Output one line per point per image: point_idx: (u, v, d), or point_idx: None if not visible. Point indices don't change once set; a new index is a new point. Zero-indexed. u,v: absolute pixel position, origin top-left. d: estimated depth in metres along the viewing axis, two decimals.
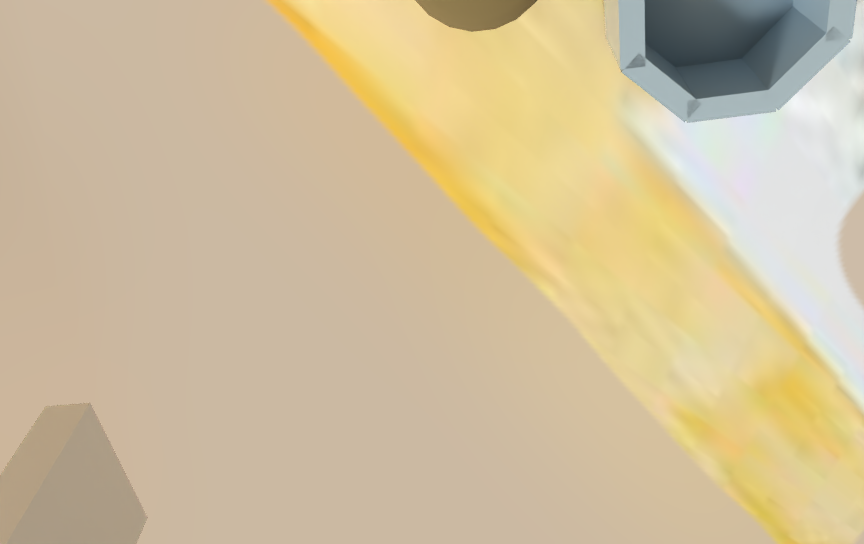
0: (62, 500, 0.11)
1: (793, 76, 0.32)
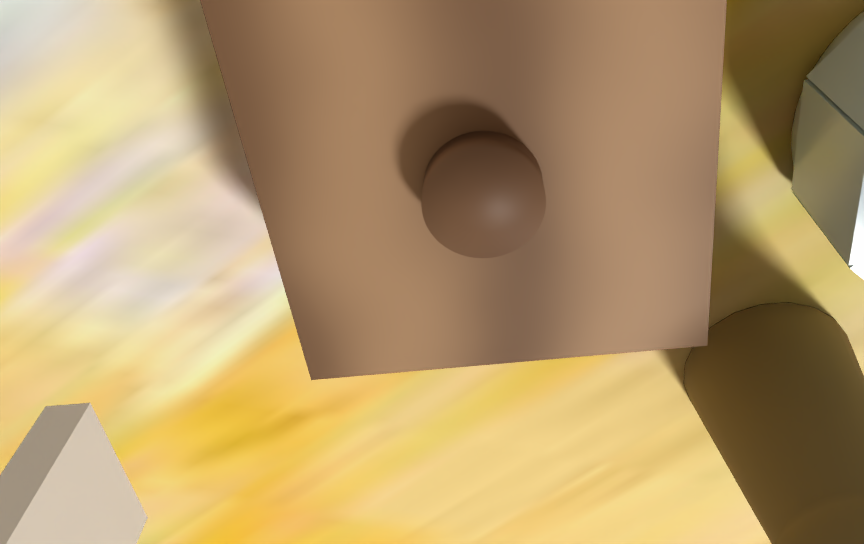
0: (62, 500, 0.11)
1: None
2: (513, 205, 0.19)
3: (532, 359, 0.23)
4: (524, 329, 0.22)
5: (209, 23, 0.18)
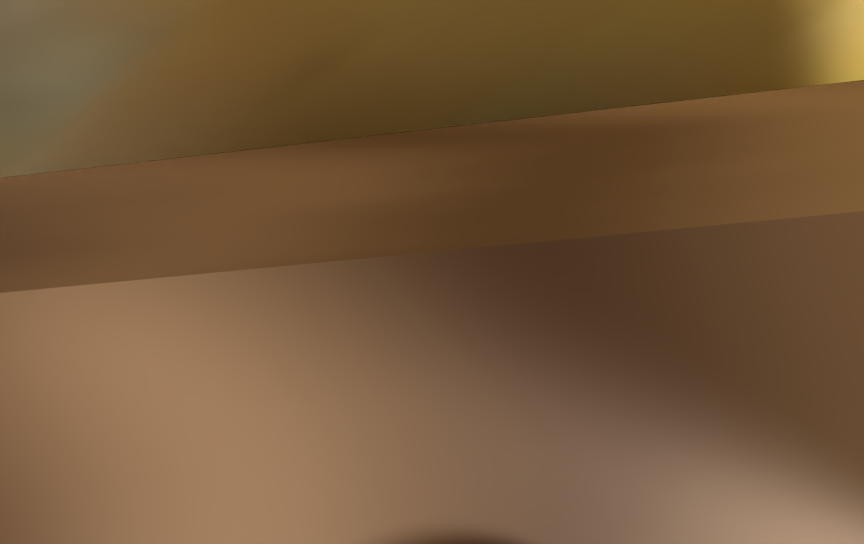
0: None
1: None
2: None
3: None
4: None
5: None
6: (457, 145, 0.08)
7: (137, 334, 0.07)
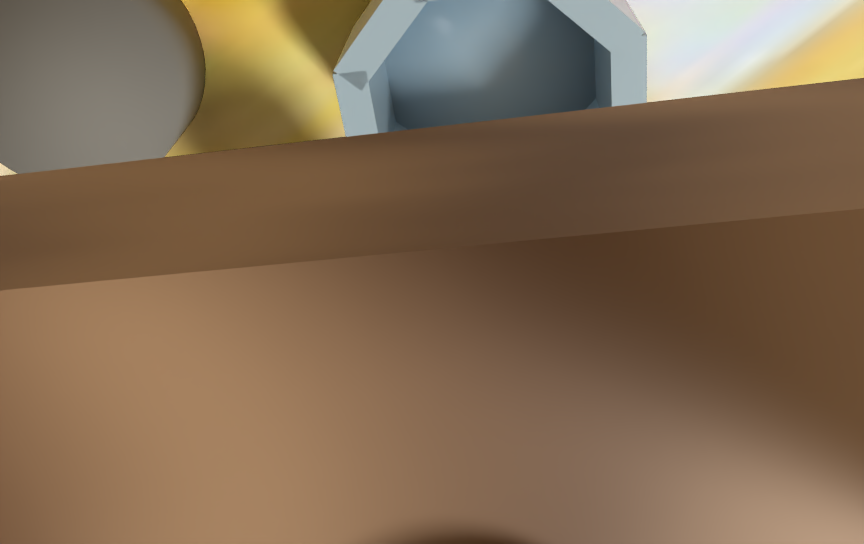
0: None
1: (593, 20, 0.22)
2: None
3: None
4: None
5: None
6: (458, 142, 0.08)
7: (135, 332, 0.07)
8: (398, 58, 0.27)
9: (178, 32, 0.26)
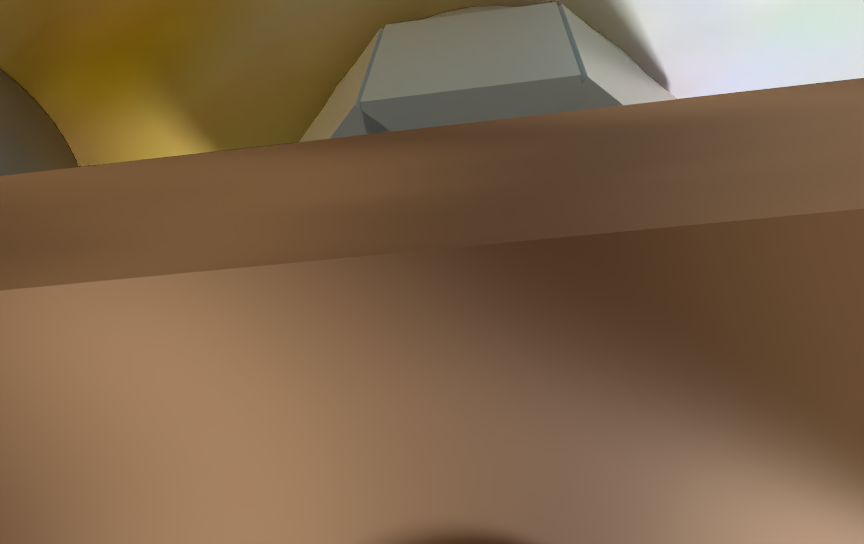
0: None
1: None
2: None
3: None
4: None
5: None
6: (458, 143, 0.08)
7: (135, 330, 0.07)
8: None
9: (33, 163, 0.18)
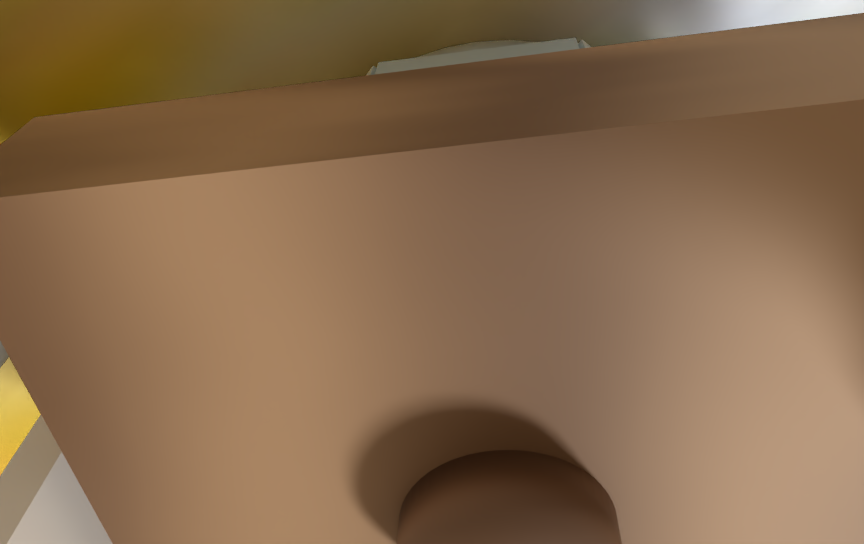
0: (63, 499, 0.11)
1: None
2: None
3: None
4: None
5: None
6: (455, 78, 0.10)
7: (195, 222, 0.08)
8: None
9: None
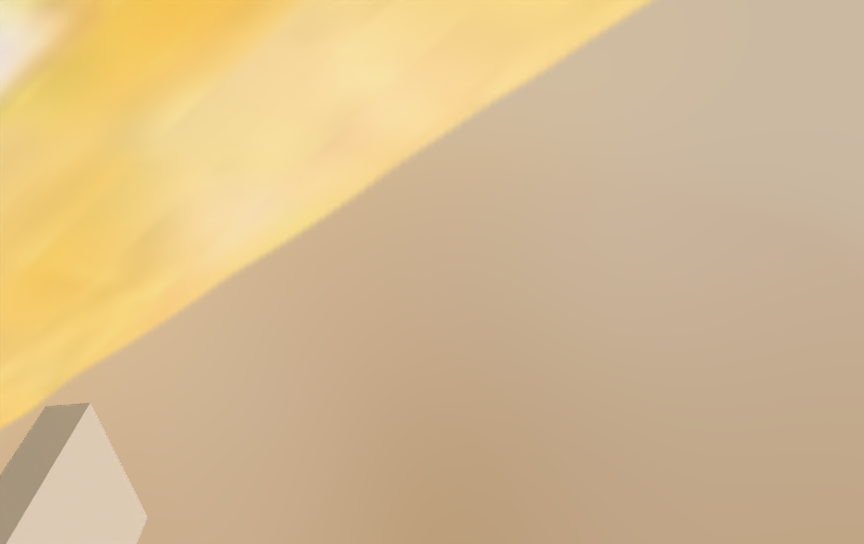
0: (62, 500, 0.11)
1: None
2: None
3: None
4: None
5: None
6: None
7: None
8: None
9: None
